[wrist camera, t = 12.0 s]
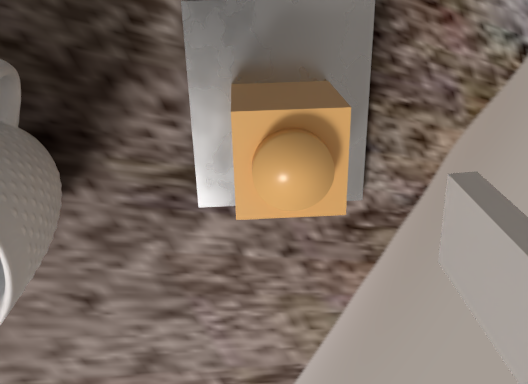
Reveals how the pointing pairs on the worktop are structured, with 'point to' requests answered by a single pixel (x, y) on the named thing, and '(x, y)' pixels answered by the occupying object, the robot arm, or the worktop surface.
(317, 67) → the plate with brass peg
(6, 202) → the mug
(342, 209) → the cube with dome top
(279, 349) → the worktop surface
